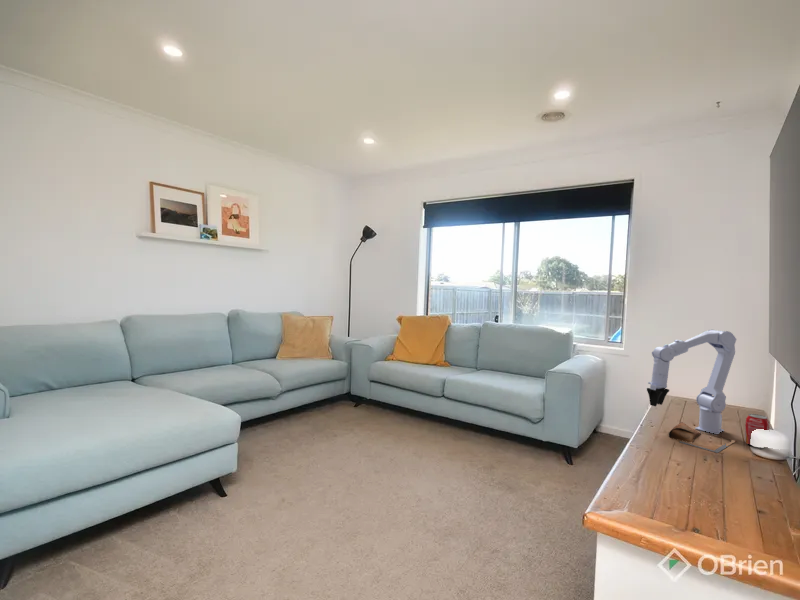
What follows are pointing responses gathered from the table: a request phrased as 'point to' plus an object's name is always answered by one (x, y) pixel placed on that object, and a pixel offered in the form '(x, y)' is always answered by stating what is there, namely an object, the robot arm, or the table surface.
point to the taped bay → (709, 449)
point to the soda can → (755, 425)
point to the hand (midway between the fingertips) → (656, 404)
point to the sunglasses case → (683, 433)
